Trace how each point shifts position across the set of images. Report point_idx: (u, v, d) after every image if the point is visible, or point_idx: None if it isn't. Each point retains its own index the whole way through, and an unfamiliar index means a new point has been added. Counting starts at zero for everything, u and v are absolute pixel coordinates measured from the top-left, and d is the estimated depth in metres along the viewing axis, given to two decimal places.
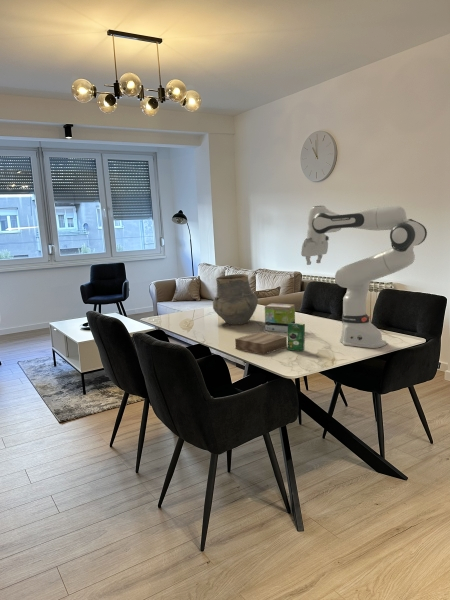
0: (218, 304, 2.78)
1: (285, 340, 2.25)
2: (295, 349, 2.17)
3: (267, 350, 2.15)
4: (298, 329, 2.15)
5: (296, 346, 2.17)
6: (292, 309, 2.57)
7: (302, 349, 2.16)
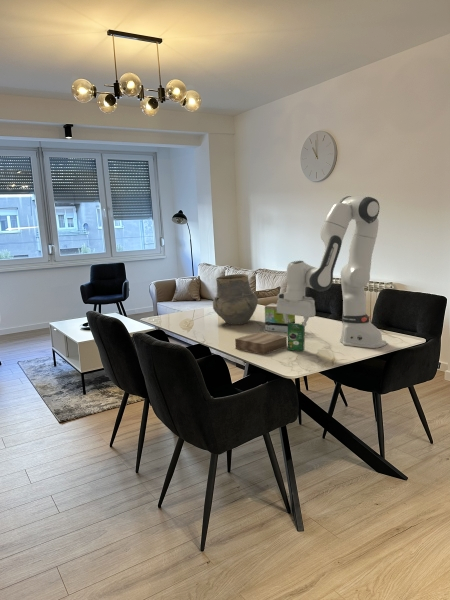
0: (218, 304, 2.78)
1: (285, 340, 2.25)
2: (295, 349, 2.17)
3: (267, 350, 2.15)
4: (297, 329, 2.15)
5: (296, 346, 2.17)
6: None
7: (302, 349, 2.16)
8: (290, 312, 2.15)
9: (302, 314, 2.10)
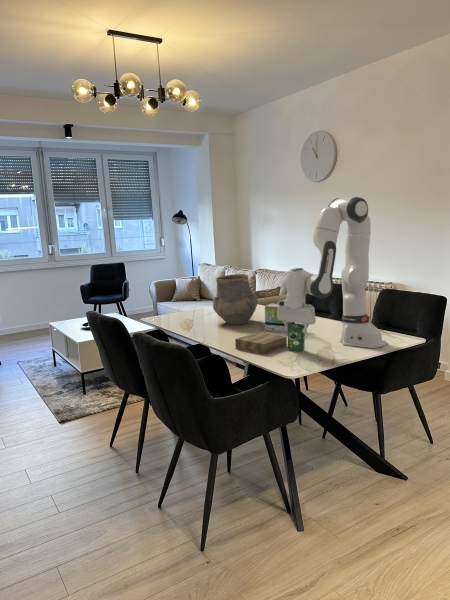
0: (218, 304, 2.78)
1: (285, 340, 2.25)
2: (295, 349, 2.17)
3: (267, 350, 2.15)
4: (298, 329, 2.15)
5: (296, 346, 2.17)
6: None
7: (302, 349, 2.16)
8: (290, 319, 2.16)
9: (302, 321, 2.11)
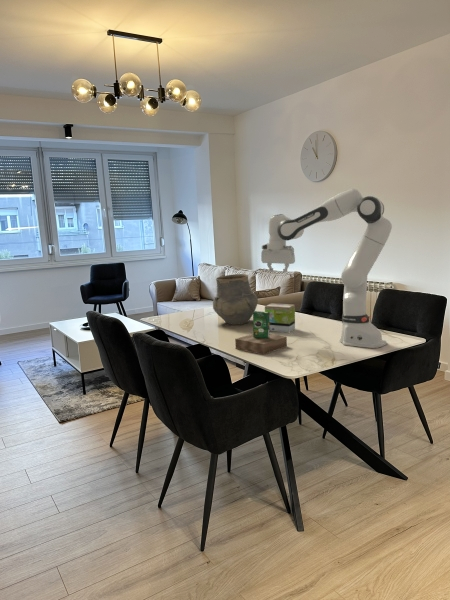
0: (218, 304, 2.78)
1: (285, 340, 2.25)
2: (260, 336, 2.24)
3: (267, 350, 2.15)
4: (262, 317, 2.22)
5: (261, 333, 2.24)
6: (292, 309, 2.57)
7: (267, 336, 2.23)
8: (273, 261, 2.41)
9: (283, 261, 2.36)
